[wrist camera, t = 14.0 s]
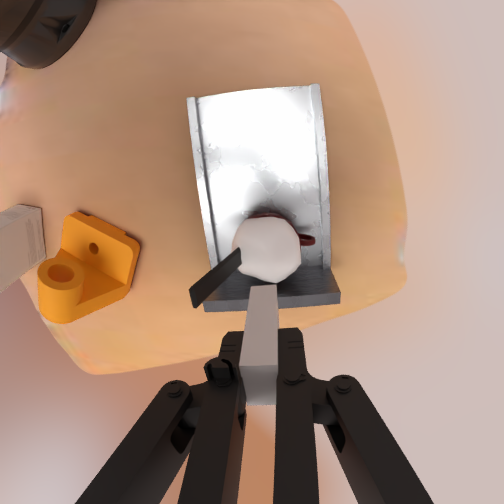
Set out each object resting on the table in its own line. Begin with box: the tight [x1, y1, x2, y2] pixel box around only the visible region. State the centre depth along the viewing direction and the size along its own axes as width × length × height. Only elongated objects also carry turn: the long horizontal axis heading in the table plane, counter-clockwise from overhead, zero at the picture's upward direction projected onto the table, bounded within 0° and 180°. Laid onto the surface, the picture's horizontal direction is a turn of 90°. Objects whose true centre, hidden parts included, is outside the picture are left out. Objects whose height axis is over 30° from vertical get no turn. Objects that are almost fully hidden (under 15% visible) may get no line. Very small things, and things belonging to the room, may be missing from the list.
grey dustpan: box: [186, 84, 341, 312], centre depth 24 cm, size 20×13×7 cm, turn 6°
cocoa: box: [189, 212, 316, 308], centre depth 23 cm, size 10×6×12 cm, turn 74°
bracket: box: [38, 212, 140, 324], centre depth 26 cm, size 11×7×12 cm, turn 65°
